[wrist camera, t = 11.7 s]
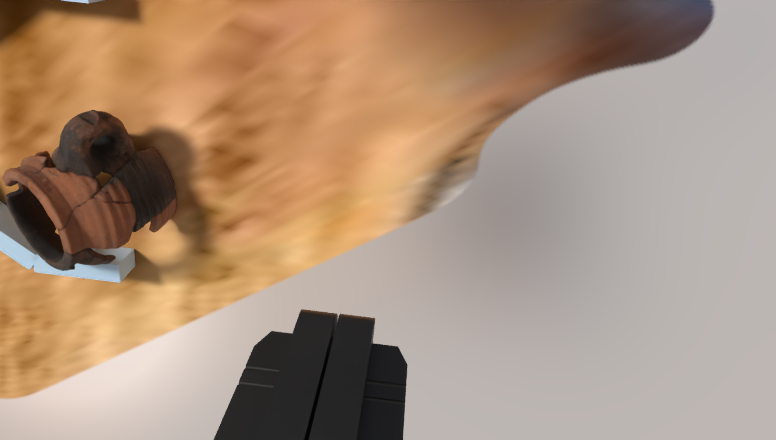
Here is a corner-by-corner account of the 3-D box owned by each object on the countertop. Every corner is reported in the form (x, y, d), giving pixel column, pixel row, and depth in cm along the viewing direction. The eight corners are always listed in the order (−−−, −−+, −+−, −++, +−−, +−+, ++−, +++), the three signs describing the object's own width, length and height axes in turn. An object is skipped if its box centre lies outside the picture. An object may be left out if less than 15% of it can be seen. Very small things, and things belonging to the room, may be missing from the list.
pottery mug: (183, 250, 46) (85, 308, 40) (103, 185, 49) (0, 230, 43) (190, 121, 38) (69, 170, 32) (94, 52, 41) (-33, 86, 35)
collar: (106, -27, 37) (85, -24, 35) (135, 265, 46) (120, 282, 44) (-118, -52, 37) (-153, -51, 35) (-45, 243, 47) (-69, 259, 44)
